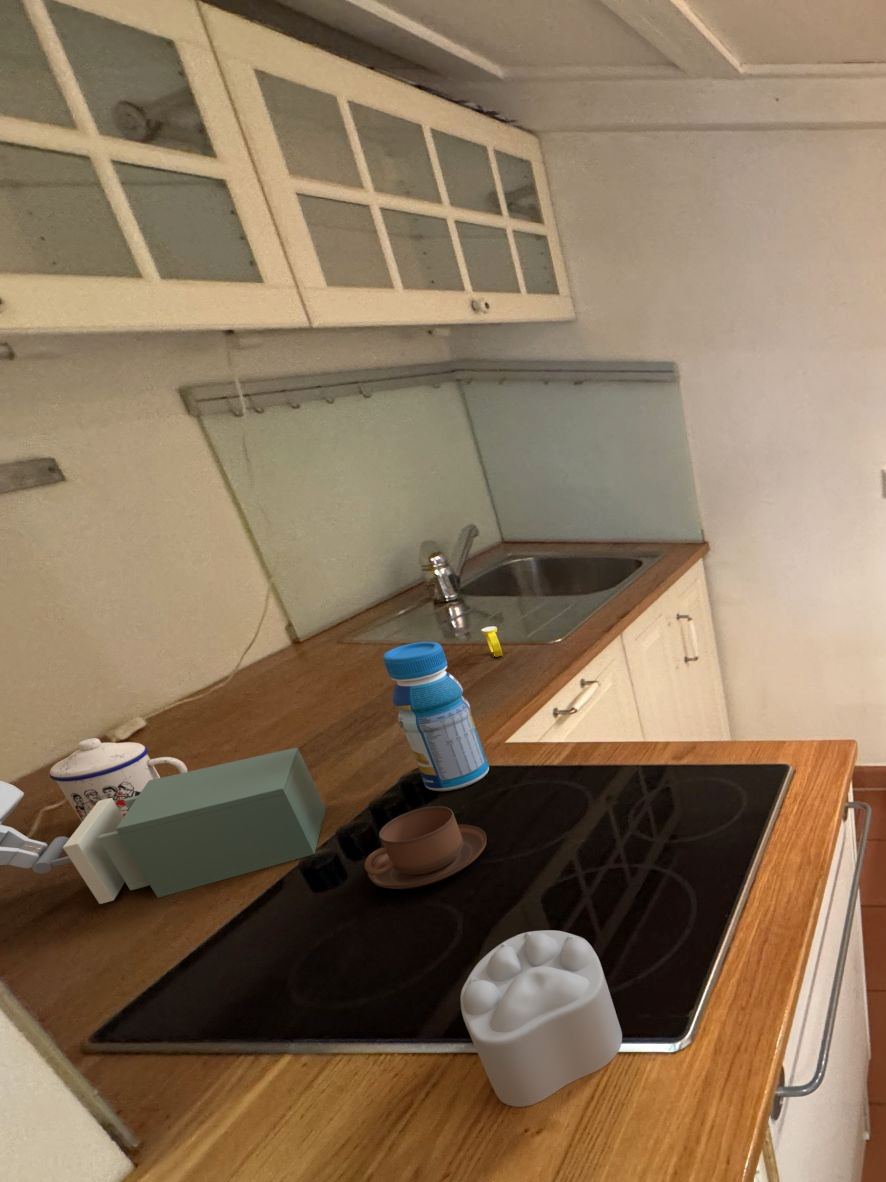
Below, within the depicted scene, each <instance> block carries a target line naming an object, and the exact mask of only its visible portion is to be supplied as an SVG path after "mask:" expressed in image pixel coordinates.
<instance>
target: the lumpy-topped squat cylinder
mask: <svg viewBox="0 0 886 1182" xmlns="http://www.w3.org/2000/svg"><path fill="white" fill-rule="evenodd" d="M459 998H460V999H459V1001H460V1009H461V1015H462V1018H463V1022H464V1024H465V1027H466V1029H467V1032H468V1033H469V1036H470V1038H471V1041H472V1043H473V1045H474V1049H475V1050H476V1053H477V1055H478V1057H479V1060H480V1062H481V1065H482V1066H483V1069H484V1071H485V1074H486V1077H487V1079H488V1081H489V1083H490V1085H491V1087H492V1089H493V1092H494V1093H495V1095H496V1097H497V1098H498V1099H499V1101H500V1102H501V1103H503V1104H505V1105H507V1106H510V1107H515V1108H523V1107H525V1108H526V1107H530V1106H532V1105H536V1104H538V1103H540V1102H542V1101H543V1100H545V1099H547V1098H549V1097H550V1096H552V1095H553V1094H555V1093H557V1092H558V1091H559V1090H561V1089H562V1088H564V1087H566V1086H567V1085H569V1084H571V1083H573V1082H575V1081H577V1080H579V1079H581V1078H584V1077H586V1076H589V1075H591V1074H593V1073H596V1072H598V1071H599V1070H601V1069H603V1068H604V1067H606V1066H607V1065H609V1064H610V1063H611V1062H612V1061H613V1060H614V1058H615V1057H616V1056H617V1054H618V1052H619V1051H620V1049H621V1046H622V1043H623V1031H622V1028H621V1025H620V1022H619V1019H618V1014H617V1013H616V1009H615V1006H614V1002H613V999H612V996H611V993H610V989H609V986H608V983H607V980H606V976H605V973H604V970H603V967H602V964H601V961H600V959H599V956H598V955H597V953H596V951H595V950H594V948H593V947H592V945H591V944H590V943H589V942H588V940H586V938H584V937H582V936H579V935H576V934H573V933H569V932H566V931H561V930H555V929H553V930H551V929H547V930H532V931H527V932H523V933H520V934H517V935H514V936H512V937H510V938H508V939H506V940H505V941H503V942H501V943H500V944H498V945H496V947H494V948H493V949H491V951H489V952H488V953H486V954H485V956H484V957H482V959H481V960H479V962H478V963H476V965H475V966H474V967H473V969H472V970H471V972H470V974H469V975H468V976H467V979H466V981H465V983H464V984H463V986H462V988H461V991H460V997H459Z"/></svg>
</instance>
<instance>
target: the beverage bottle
mask: <svg viewBox="0 0 886 1182" xmlns="http://www.w3.org/2000/svg"><path fill="white" fill-rule="evenodd" d="M382 658H383V664H384V666H385V668H386V671H387V674H388V676H389V677H390V678H391V680H392V681H395V682H396V683H395V685H394V688H393V692H392V705H393V707H394V709H396V710H397V711H398V715H397V720H398V724H399V727H400V728H401V729H402V730H403V732H404V735H405V737H406V740H407V743H408V745H409V747H410V750H411V753H412V755H413V757H414V760H415V763H416V765H417V768H418V770H419V773H420V776H421V780H422V782H423V785H424V786H425V788H426V789H428V790H430V791H434V792H448V791H456V790H459V789H460V790H461V789H463V788H466V787H468V786H471V785H474V784H475V783H477V782H479V781H480V780H482V779H484V778H485V777H486V775H487V774H488V772H489V770H490V765H489V762H488V759H487V758H486V754H485V752H484V749H483V745H482V742H481V740H480V736H479V734H478V730H477V727H476V725H475V721H474V719H473V716H472V712H471V705H470V703H469V701H468V700H467V698H465V697H464V696H463V693H464V688H463V686H462V684H461V683H460V682H459V681H458V680H457V678H456V677H454V676H453V675H452V674H450V673H449V672H448V671H447V669H448V661H447V657H446V655H445V651H444V649H443V647H442V645H441V644H440V643H438V642H437V641H436V642H435V641H419V642H412V643H408V644H403V645H399V646H396V647H394V648H391V649H390V650H387V651H386V652H384V654H383V655H382Z"/></svg>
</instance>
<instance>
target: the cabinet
mask: <svg viewBox="0 0 886 1182" xmlns="http://www.w3.org/2000/svg"><path fill="white" fill-rule="evenodd" d="M326 809H327V808H326V806H325V804H324V802H323V799H322V796H321V795H320V793H319V791H318V788H317V787H316V784H315V781H314V780H313V778H312V775H311V773H310V771H309V769H308V766H307V764H306V762H305V759H304V758H303V756H302V754H301V751H300V750H299V748H298V747H293V748H289V749H283V750H279V751H274V752H270V753H266V754H261V755H257V756H252V757H249V758H248V757H247V758H244V759H239V760H234V761H230V762H226V763H221V764H216V765H213V766H208V767H203V768H199V769H193V770H190V771H188V772H185V773H175V774H173V775H167V776H163V777H160V778H158V779H153V780H149V781H148V783H147V784H146V785H145V787H144V788H143V790H142V791H141V793H140V794H139V796H138V797H137V799H136V800H135V802H134V803H133V804H132V806H131V807H130V809H129V810H128V812H127V813H126V815H125V816H124V818H123V819H122V820H121V822H120V823H119V825H118V826H117V828H116V830H117V832H118V833H119V835H120V837H121V838H122V840H123V842H124V843H125V845H126V847H127V848H128V850H129V852H130V853H131V855H132V857H133V858H134V860H135V862H136V863H137V865H138V866H139V868H140V870H141V871H142V873H143V875H144V876H145V878H146V880H147V881H148V883H149V886H150V888H151V889H152V891H153V893H154V895H155V896H156V898H157V899H159V898H163V897H166V896H170V895H173V894H177V893H180V892H184V891H187V890H193V889H195V888H197V887H202V886H207V885H209V884H213V883H216V882H220V881H224V880H227V879H228V880H229V879H231V878H235V877H239V876H241V875H245V874H249V873H252V872H256V871H259V870H263V869H267V868H271V867H274V866H277V865H282V864H285V863H288V862H292V861H295V860H299V859H303V858H307V857H310V856H313V855H315V854H316V850H317V846H318V843H319V842H318V841H319V837H320V834H321V829H322V825H323V821H324V817H325V813H326Z"/></svg>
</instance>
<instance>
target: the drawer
mask: <svg viewBox="0 0 886 1182" xmlns="http://www.w3.org/2000/svg"><path fill="white" fill-rule="evenodd" d="M138 796H139V795H138ZM138 796H134V797H130V798H126V799H125V800H124V802H125V804H126V805H127V807H128V809H130V807H131V806H132V804H133V803H134V802H135V800H136V799H137V797H138ZM123 818H124V817H123V816H122V814H121V812H120V811H119V809H118V807H117V806H116V804H115V802H114V801H113V799H112V798H109V799H104V800H100V801H98V802H97V803H96V805H95V806H94V807H93V809H92V810H91V811H90V812H89V814H88V815H87V816H86V818H85V819H84V820H83V822H81V823H80V824H79V825H78V827H77V828H76V829H75V830H74V832H73V833H72V834H71V836H70V837H67V836H57V837H55V838H54V839H52V841H51V842H50V844H49V845H48V847H47V849H46V850H45V851H44V853H43V854H42V855H41V856H40V858H39V859H38V860H37V861H36V862H35V864H34V865H33V866H32V867H31V870H32V871H33V872H34V873H36V874H40V875H41V874H46V873H49V872H50V871H51V870H52V868H55V867H58V866H63V865H66V864H69V863H72V864H73V865H74V868H75V869H76V870H77V872H78V873H79V875H80V876H81V878H82V879H83V881H84V883H85V885H86V886H87V887H88V889H89V890H90V892H91V893H92V895H93V896H94V898H95V900H96V901H97V902H98V904H99V905H101V904H106V903H109V902H113V901H115V899H116V897H117V896H118V895H119V892H120V891H121V889H122V888H123V886H124V884H126V886H127V887H128V889H129V891H134V890H137V889H141V888H145V887H149V886H150V885H149V883H148V881H147V880H146V878H145V876H144V875H143V873H142V871H141V870H140V868H139V866H138V865H137V863H136V862H135V860H134V858H133V857H132V855H131V853H130V852H129V850H128V848H127V847H126V845H125V843H124V842H123V840H122V838H121V837H120V835H119V833H118V832H117V830H116V828H117V826H118V825H119V823H120V822H121V820H122V819H123ZM64 853H66V855H67V856H64V857H62V856H63V854H64Z"/></svg>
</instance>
